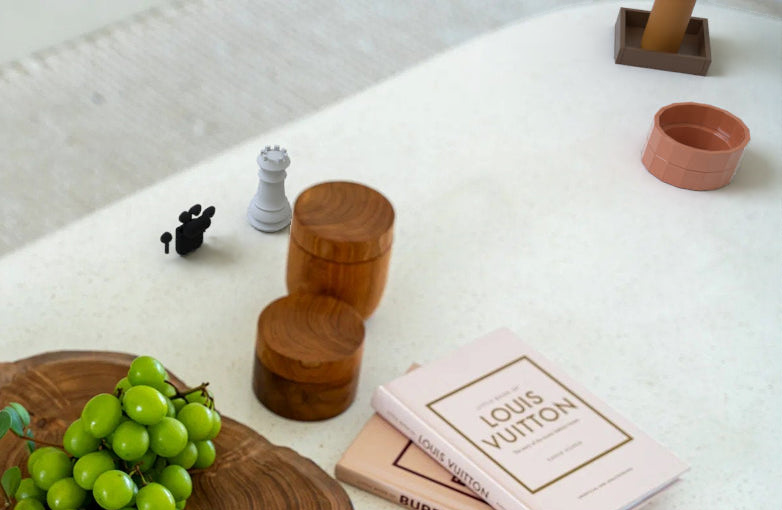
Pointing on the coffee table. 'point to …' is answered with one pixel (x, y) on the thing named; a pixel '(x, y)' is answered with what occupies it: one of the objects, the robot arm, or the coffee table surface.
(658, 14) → the bottle
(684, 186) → the bowl
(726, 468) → the coffee table surface
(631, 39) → the tray
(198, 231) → the wireless earbuds
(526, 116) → the coffee table surface
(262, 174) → the rook chess piece
